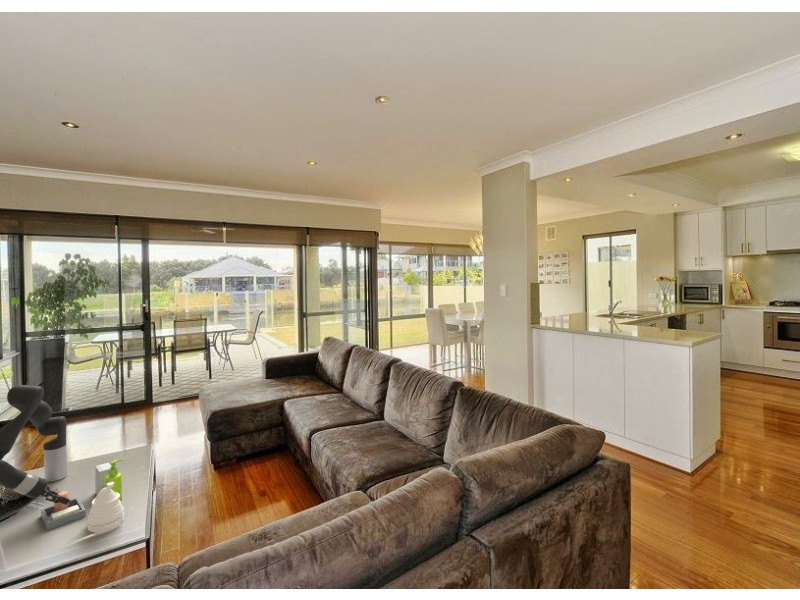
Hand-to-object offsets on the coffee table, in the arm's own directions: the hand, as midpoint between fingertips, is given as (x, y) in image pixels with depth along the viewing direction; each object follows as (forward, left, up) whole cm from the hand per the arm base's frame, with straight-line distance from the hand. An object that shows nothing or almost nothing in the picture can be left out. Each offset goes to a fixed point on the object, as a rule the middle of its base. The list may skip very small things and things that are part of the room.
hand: (66, 499), depth 177 cm
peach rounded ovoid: (0, -2, -5) cm, 5 cm away
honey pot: (+23, +9, -7) cm, 26 cm away
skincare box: (-5, +15, -7) cm, 17 cm away
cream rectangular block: (+7, -2, -6) cm, 9 cm away
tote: (+3, -2, -7) cm, 7 cm away
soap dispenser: (+5, +17, -7) cm, 19 cm away
